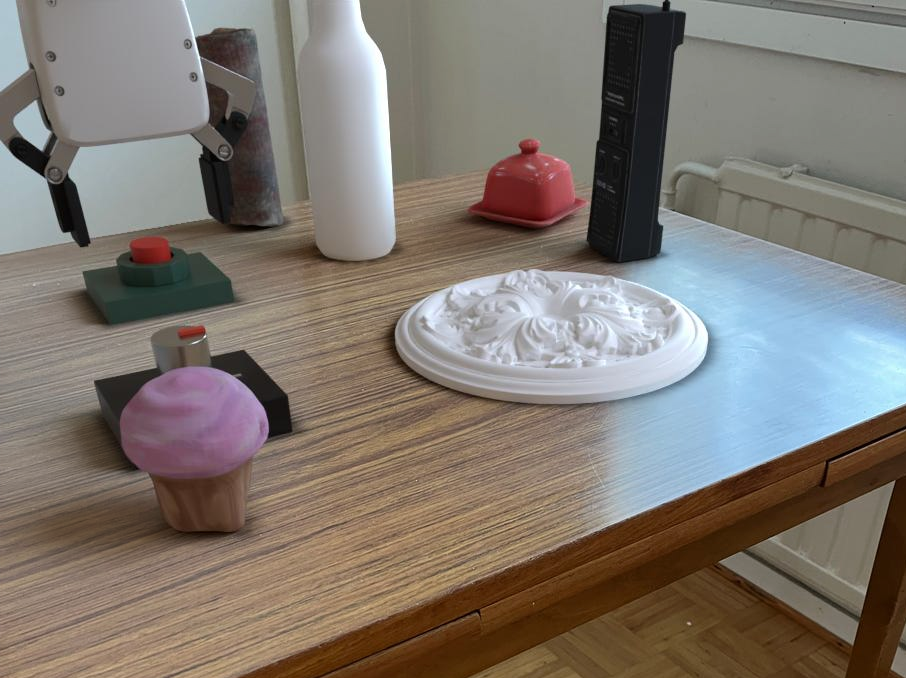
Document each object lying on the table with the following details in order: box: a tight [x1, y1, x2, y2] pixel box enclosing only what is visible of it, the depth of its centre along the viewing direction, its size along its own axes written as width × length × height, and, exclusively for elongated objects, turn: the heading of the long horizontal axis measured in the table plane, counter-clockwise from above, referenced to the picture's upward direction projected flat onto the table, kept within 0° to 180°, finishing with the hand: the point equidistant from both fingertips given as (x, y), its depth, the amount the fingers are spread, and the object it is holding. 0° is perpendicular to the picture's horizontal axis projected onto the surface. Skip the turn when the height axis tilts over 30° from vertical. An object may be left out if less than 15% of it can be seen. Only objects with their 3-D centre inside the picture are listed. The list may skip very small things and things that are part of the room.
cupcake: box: [120, 367, 269, 533], centre depth 62 cm, size 9×9×10 cm
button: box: [129, 236, 171, 264], centre depth 94 cm, size 4×4×2 cm
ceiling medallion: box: [394, 268, 709, 405], centre depth 88 cm, size 28×28×3 cm
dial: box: [149, 324, 213, 377], centre depth 72 cm, size 4×4×4 cm
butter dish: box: [467, 138, 590, 229], centre depth 115 cm, size 12×12×8 cm
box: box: [81, 245, 235, 326], centre depth 96 cm, size 12×10×4 cm
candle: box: [195, 27, 284, 228], centre depth 110 cm, size 8×7×20 cm
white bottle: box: [297, 0, 397, 262], centre depth 99 cm, size 9×9×30 cm
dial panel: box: [93, 349, 294, 471], centre depth 75 cm, size 12×10×3 cm
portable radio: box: [585, 0, 687, 263], centre depth 100 cm, size 8×6×25 cm
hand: (152, 230), depth 68 cm, fingers open, 9 cm apart
